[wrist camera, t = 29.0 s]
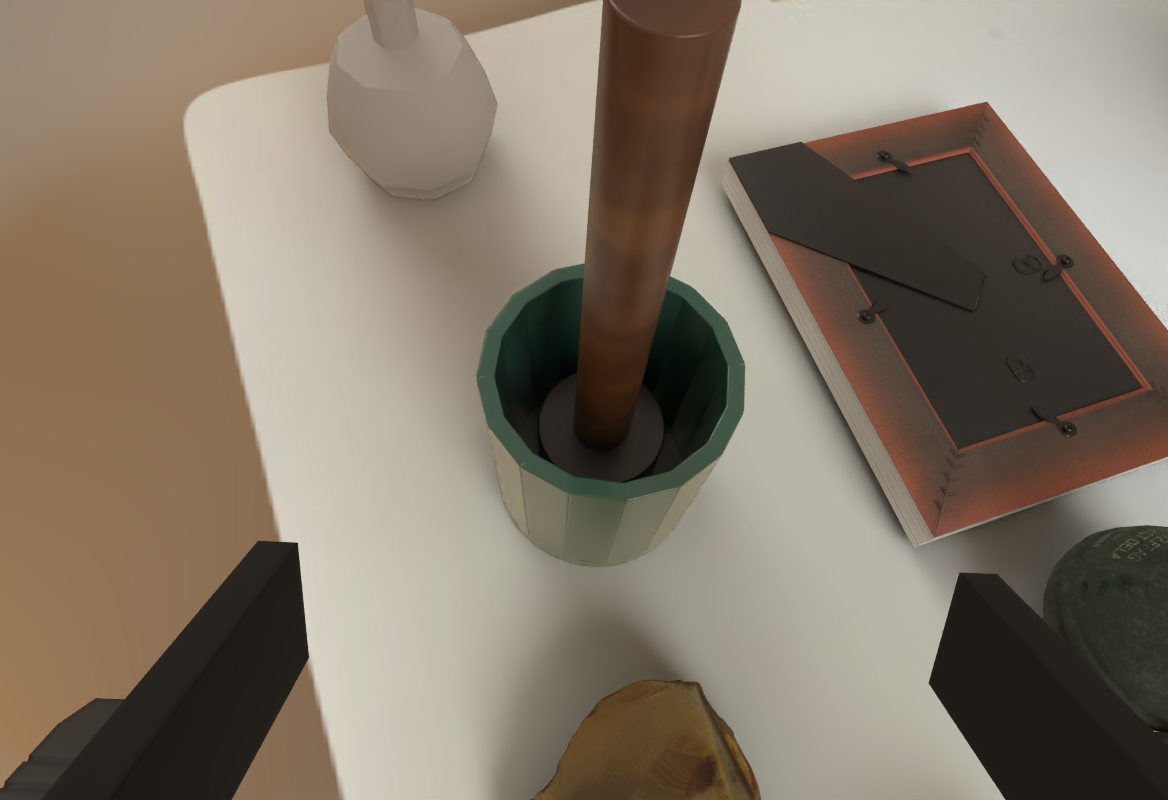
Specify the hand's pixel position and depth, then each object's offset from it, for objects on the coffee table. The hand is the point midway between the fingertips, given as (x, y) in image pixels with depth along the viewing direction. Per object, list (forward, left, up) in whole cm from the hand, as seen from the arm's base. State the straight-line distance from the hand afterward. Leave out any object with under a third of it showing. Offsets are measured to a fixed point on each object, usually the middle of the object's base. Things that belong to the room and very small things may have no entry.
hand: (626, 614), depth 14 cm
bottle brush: (+7, -5, -15) cm, 17 cm away
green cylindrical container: (+7, -5, -16) cm, 18 cm away
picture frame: (+3, -26, -16) cm, 30 cm away
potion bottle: (+28, -9, -16) cm, 33 cm away
